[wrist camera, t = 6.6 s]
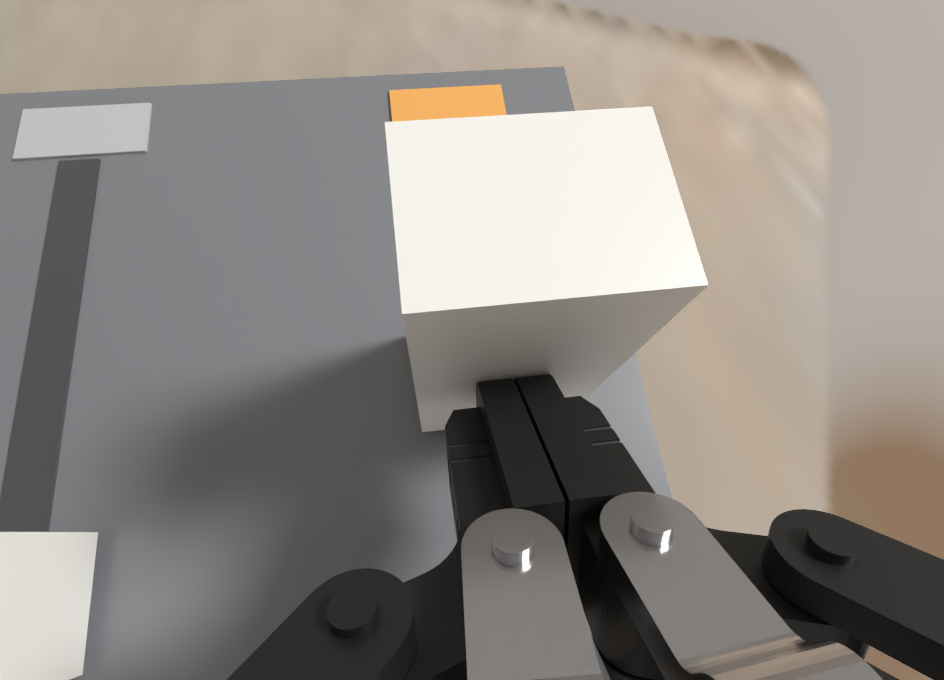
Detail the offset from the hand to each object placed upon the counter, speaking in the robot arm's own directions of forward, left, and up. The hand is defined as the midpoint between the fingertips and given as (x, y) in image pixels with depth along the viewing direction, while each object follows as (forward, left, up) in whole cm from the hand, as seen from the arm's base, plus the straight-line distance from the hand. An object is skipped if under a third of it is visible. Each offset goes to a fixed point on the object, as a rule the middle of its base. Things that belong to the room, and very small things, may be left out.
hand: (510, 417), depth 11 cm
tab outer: (0, +2, -4) cm, 4 cm away
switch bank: (-6, +4, -5) cm, 9 cm away
